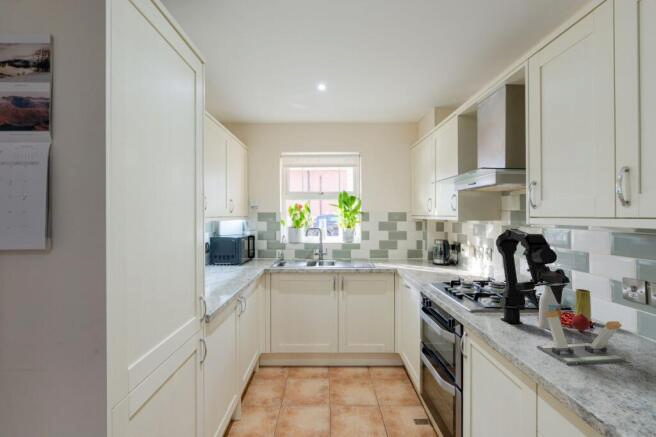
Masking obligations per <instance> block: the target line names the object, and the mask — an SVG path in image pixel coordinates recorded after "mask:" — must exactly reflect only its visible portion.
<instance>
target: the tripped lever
mask: <svg viewBox="0 0 656 437" xmlns="http://www.w3.org/2000/svg"><path fill="white" fill-rule="evenodd" d="M545 314H546V317H547V319H548V323H549V326H550V329H549V330H550V332H551V337H552V339H553V342H554V345H555V347H556V348H557V349H558V350H560V352H564V351H568V345H567V344H568V342H567V339H566V336H565V333H564V332H565V331H564V330H563V326H562V323H561V322H560V319H559V314H558V311H551V312H545Z"/></svg>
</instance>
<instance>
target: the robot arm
mask: <svg viewBox="0 0 656 437" xmlns="http://www.w3.org/2000/svg"><path fill="white" fill-rule="evenodd" d="M519 244H520V245H521V246H522V247H523V248H524V251H523V253H522V255H523V256H524V257H525V259H526V260H525V261H526V263H527V266H528V268H527V269H526V271H527V272H528V273H529V274H530V276H531V279H529V281H521V282H518V276H517V269H516V262H515V261H516V260H515V253H516V252H517V250H518V249H517V248H518V245H519ZM495 246H496V248H497V252H498V253H499V254H500V255H501V256H502V263H503V272H504V281H505V288H504V290H503V292H502V297H501V299H500V300H499V307H500V308H501V309H503V317H501V318H500V320H502V321H503V322H504V323H506V324H509V325H516V324H517V325H518V324H520V325H521V324H523V321H521V314H520V312H521V311H524V310H525V306H526V302H527V300H526V298H525V297H527V298H528V300H529V301H530V302H531V303H532V304H533V306H534V307H535V308H537V309H539V301H538V297H537V294H536V293H537V291H538V290H537V289H535V288H536V287H541V286H544V285H548V284H552V285H550V288H551V290H552V292H553V294H554V297H555V299H556V301H557V303H558V304H562V297H563V291H564V288H565V287H566V286H568V284H570V283H571V282H570V278H569V277H568V276H567V275H566V273H565V271H564V269H562V268H558V269H557V268H556V269H555V270H552V269H551V268H550V267H549V265H550V264H551V265H552V264H554V263H556V261H557V259H558V255H557V253H556V251H555V250H553V249H552V248H551V247H550V246H551V245H550V244H549V243H548V241H547V239H546V238H545V237H544V235H543V234H542V233H529V232H525V231H523V230H521V229H519V228H506V229H505V231H504V232H502V233H500V234H499V235H498V236H497V238H496V240H495ZM547 265H548V266H547ZM544 281H545V282H544Z"/></svg>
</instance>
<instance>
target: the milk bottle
mask: <svg viewBox="0 0 656 437" xmlns="http://www.w3.org/2000/svg"><path fill="white" fill-rule="evenodd" d="M543 282H545V281H543ZM550 285H552V284H548V285H543V287H544V289H543V291H542V293H540V294H541V295H540V297H539V301H538V304H539V308H538V309H539V311H538V325H539V327H541V328H542V329H543V328H544V329H547V330H550V326H549V323H548V319H547V317H546V314H545V312H551V311H558V314H559V319H560V322H561V314H562V313H561V311H562V308H561V307H562V306H561V304H562V303H561V304H558V303H557V301H556V299H555V297H554V294H553V292H552V290H551V288H550Z"/></svg>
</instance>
